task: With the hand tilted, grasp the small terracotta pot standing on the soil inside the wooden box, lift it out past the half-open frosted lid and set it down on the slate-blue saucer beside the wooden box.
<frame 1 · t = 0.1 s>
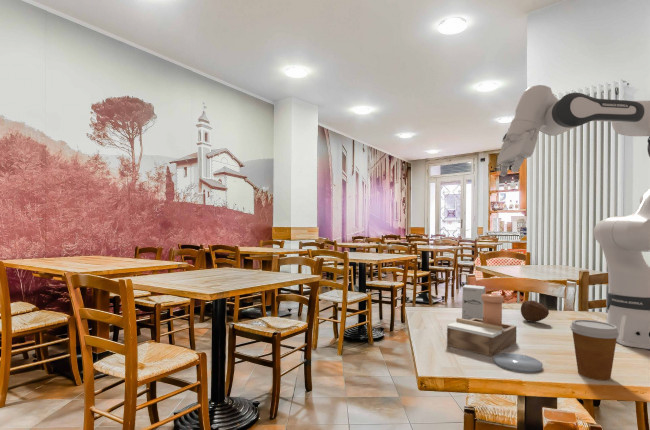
hand: (508, 174, 124), 52 cm above the table, tool tilted 20°, fingers open, 8 cm apart
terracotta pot: (492, 329, 114), point 4 cm above the table, touching wooden box
saucer: (517, 364, 96), on the table
supplement box: (473, 321, 141), on the table
potato: (533, 322, 140), on the table
disposable coffee cup: (593, 376, 90), on the table
lid panel: (474, 327, 108), on the wooden box, point 5 cm above the table
wooden box: (482, 343, 112), on the table
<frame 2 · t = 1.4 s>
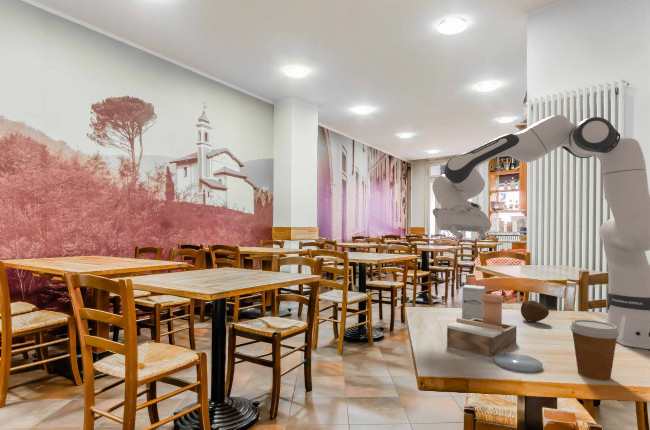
hand: (472, 238, 129), 31 cm above the table, tool tilted 45°, fingers open, 8 cm apart
nothing on the table moved.
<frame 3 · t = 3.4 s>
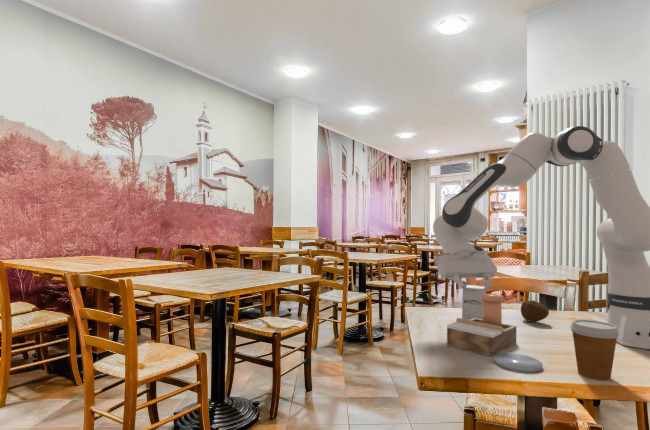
hand: (476, 286, 121), 15 cm above the table, tool tilted 45°, fingers open, 8 cm apart
nothing on the table moved.
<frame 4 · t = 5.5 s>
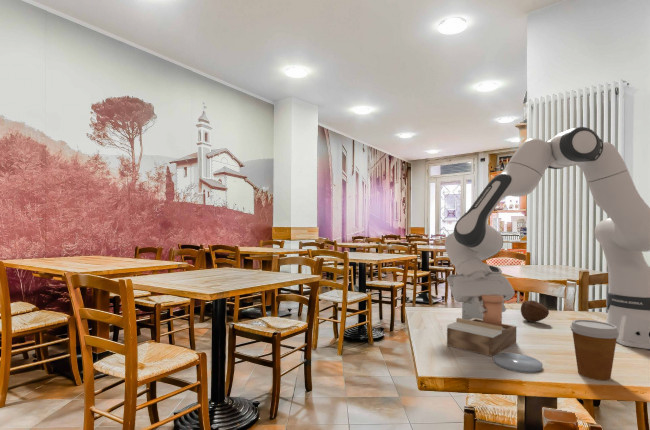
hand: (493, 311, 113), 9 cm above the table, tool tilted 45°, fingers closed on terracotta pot, 5 cm apart
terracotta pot: (492, 329, 114), point 4 cm above the table, touching wooden box, gripper
everything else where it was.
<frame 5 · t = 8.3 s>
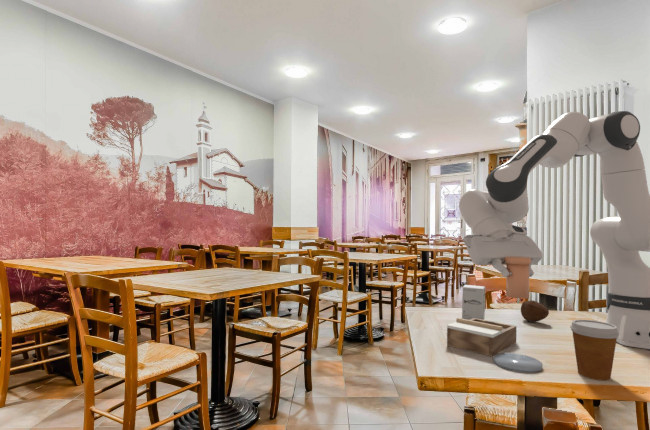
hand: (519, 275, 96), 22 cm above the table, tool tilted 45°, fingers closed on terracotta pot, 5 cm apart
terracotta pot: (517, 296, 97), point 17 cm above the table, touching gripper
everything else where it was.
when the fingers open (8 cm above the table, at t = 11.4 s): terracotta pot drops 1 cm, resting on saucer.
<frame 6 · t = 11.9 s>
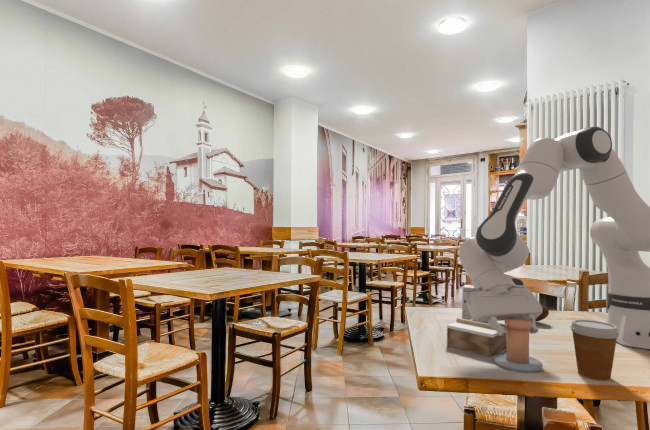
hand: (519, 333, 96), 8 cm above the table, tool tilted 45°, fingers open, 8 cm apart
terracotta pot: (517, 360, 96), point 1 cm above the table, touching saucer
everything else where it was.
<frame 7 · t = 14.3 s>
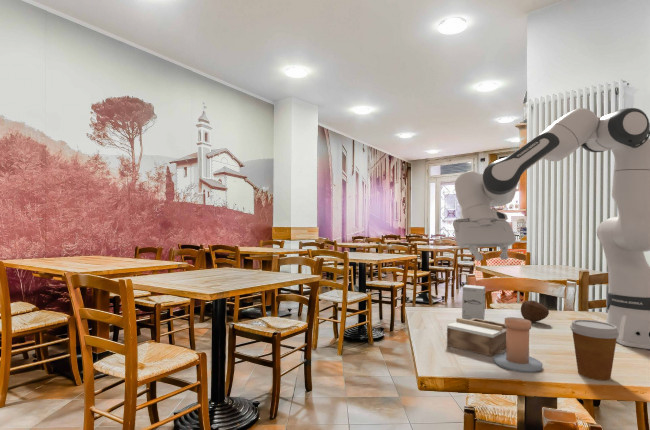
hand: (492, 259, 116), 25 cm above the table, tool tilted 25°, fingers open, 8 cm apart
nothing on the table moved.
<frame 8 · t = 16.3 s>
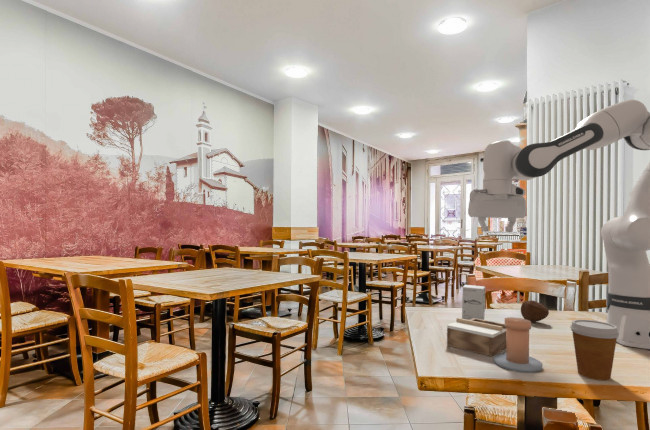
hand: (497, 231, 126), 33 cm above the table, tool pointing down, fingers open, 8 cm apart
nothing on the table moved.
at the end: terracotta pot 0.0 cm from the saucer (horizontally); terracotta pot tilted 0°; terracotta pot point 1.0 cm above the table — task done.
